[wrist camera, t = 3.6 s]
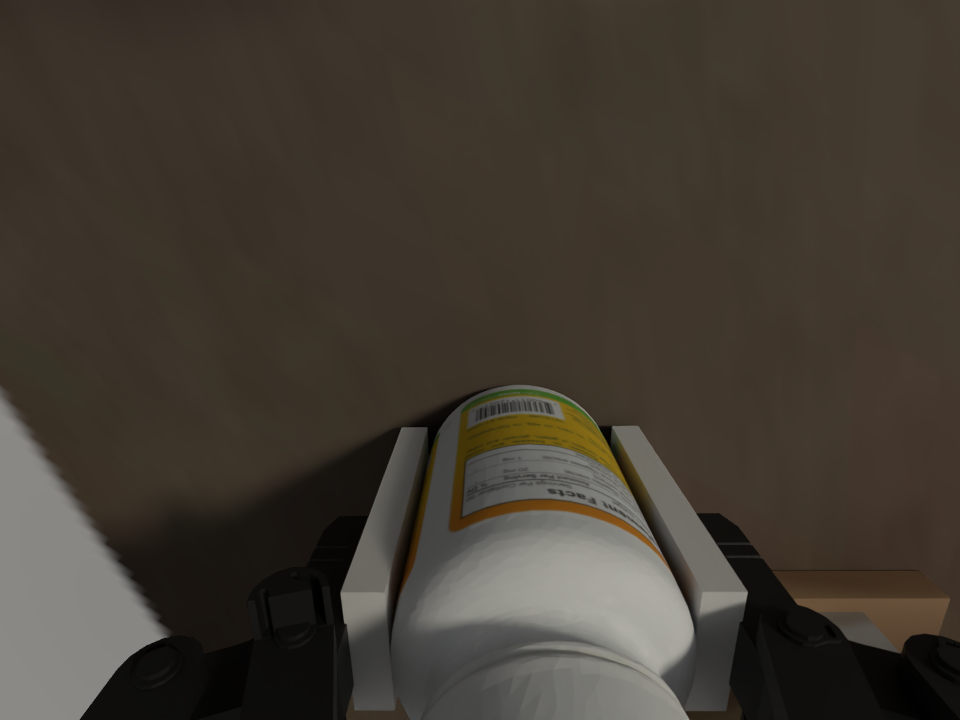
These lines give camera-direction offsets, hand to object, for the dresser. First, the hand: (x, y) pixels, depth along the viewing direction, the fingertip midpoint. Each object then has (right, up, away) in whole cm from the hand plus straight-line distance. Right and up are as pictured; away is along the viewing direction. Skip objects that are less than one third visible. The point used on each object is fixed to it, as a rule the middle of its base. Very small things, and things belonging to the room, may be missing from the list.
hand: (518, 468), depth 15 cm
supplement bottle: (0, 0, +1) cm, 1 cm away
